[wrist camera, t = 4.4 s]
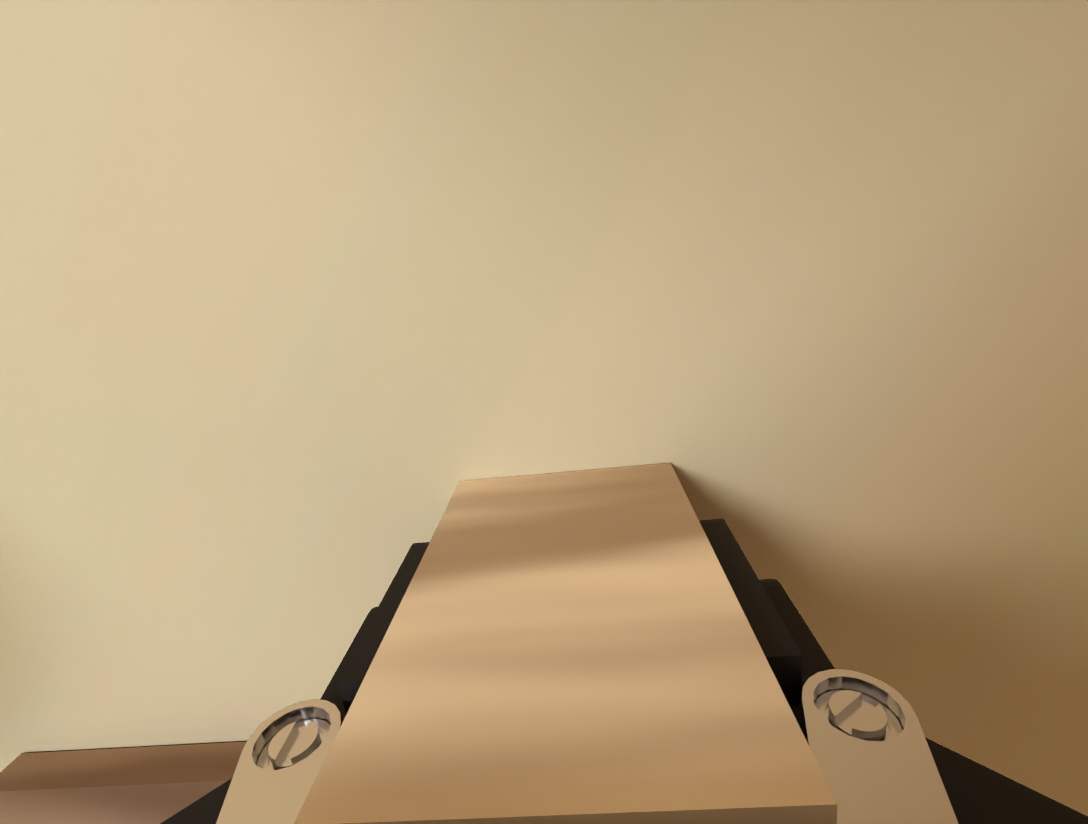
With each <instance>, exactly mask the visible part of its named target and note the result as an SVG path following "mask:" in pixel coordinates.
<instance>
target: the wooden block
mask: <svg viewBox="0 0 1088 824" xmlns="http://www.w3.org/2000/svg"><path fill="white" fill-rule="evenodd" d="M837 805H838V804H837V802H836V800H835V798H834V796H833V794H832V792H831V790H830V788H829V786H828V784H827V782H826V780H825V778H824V776H823V773H822V771H821V769H820V767H819V765H818V763H817V761H816V759H815V757H814V755H813V753H812V751H811V749H810V747H809V745H808V743H807V741H806V739H805V737H804V735H803V733H802V730H801V728H800V726H799V724H798V722H797V720H796V718H795V716H794V714H793V712H792V710H791V708H790V706H789V704H788V702H787V700H786V698H785V696H784V694H783V692H782V690H781V688H780V685H779V683H778V681H777V679H776V677H775V675H774V673H773V671H772V669H771V667H770V665H769V663H768V661H767V659H766V657H765V655H764V653H763V651H762V649H761V647H760V645H759V643H758V640H757V638H756V636H755V634H754V632H753V630H752V628H751V626H750V624H749V622H748V620H747V618H746V616H745V614H744V612H743V610H742V608H741V606H740V604H739V602H738V600H737V597H736V595H735V593H734V591H733V589H732V587H731V585H730V583H729V581H728V579H727V577H726V575H725V573H724V571H723V569H722V567H721V565H720V563H719V561H718V559H717V557H716V555H715V552H714V550H713V548H712V546H711V544H710V542H709V540H708V538H707V536H706V534H705V532H704V530H703V528H702V526H701V524H700V522H699V520H698V518H697V516H696V514H695V512H694V510H693V507H692V505H691V503H690V501H689V499H688V497H687V495H686V493H685V491H684V489H683V487H682V485H681V483H680V481H679V479H678V477H677V475H676V473H675V471H674V469H673V467H672V464H671V463H662V464H650V465H639V466H628V467H616V468H605V469H593V470H582V471H571V472H559V473H548V474H536V475H525V476H514V477H502V478H491V479H479V480H468V481H459V483H458V485H457V487H456V489H455V492H454V494H453V496H452V498H451V500H450V502H449V504H448V506H447V508H446V510H445V512H444V514H443V516H442V518H441V520H440V522H439V525H438V527H437V529H436V531H435V533H434V535H433V537H432V539H431V541H430V543H429V545H428V547H427V549H426V551H425V553H424V556H423V558H422V560H421V562H420V564H419V566H418V568H417V570H416V572H415V574H414V576H413V578H412V580H411V582H410V584H409V586H408V589H407V591H406V593H405V595H404V597H403V599H402V601H401V603H400V605H399V607H398V609H397V611H396V613H395V615H394V617H393V620H392V622H391V624H390V626H389V628H388V630H387V632H386V634H385V636H384V638H383V640H382V642H381V644H380V646H379V648H378V650H377V653H376V655H375V657H374V659H373V661H372V663H371V665H370V667H369V669H368V671H367V673H366V675H365V677H364V679H363V681H362V684H361V686H360V688H359V690H358V692H357V694H356V696H355V698H354V700H353V702H352V704H351V706H350V708H349V710H348V712H347V715H346V717H345V719H344V721H343V723H342V725H341V727H340V729H339V731H338V733H337V735H336V737H335V739H334V741H333V743H332V745H331V748H330V750H329V752H328V754H327V756H326V758H325V760H324V762H323V764H322V766H321V768H320V770H319V772H318V774H317V776H316V779H315V781H314V783H313V785H312V787H311V789H310V791H309V793H308V795H307V797H306V799H305V801H304V803H303V805H302V807H301V809H300V812H299V814H298V816H297V818H296V820H295V822H294V824H837Z"/></svg>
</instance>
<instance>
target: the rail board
mask: <svg viewBox="0 0 1088 824" xmlns="http://www.w3.org/2000/svg"><path fill="white" fill-rule="evenodd" d="M245 744H246V742H228V743H208V744H189V745H170V746H151V747H132V748H113V749H94V750H75V751H56V752H37V753H21V754H20V755H19V756H18V757H17V758H16V759H15V760H14V761H13V762H12V763H11V764H9V765H8V766H7V767H6V768H5V769H4V770H3V771H2V772H1V773H0V824H160V823H162V822H164V821H165V820H167V819H168V818H170V817H171V816H173V815H175V814H176V813H178V812H179V811H181V810H182V809H184V808H186V807H187V806H189V805H190V804H192V803H193V802H195V801H197V800H198V799H200V798H201V797H203V796H204V795H206V794H208V793H209V792H211V791H212V790H214V789H215V788H217V787H219V786H220V785H222V784H223V783H225V782H226V781H228V780H230V779H231V778H233V775H234V772H235V769H236V767H237V764H238V761H239V758H240V756H241V753H242V750H243V748H244V746H245Z"/></svg>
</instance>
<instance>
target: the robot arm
mask: <svg viewBox="0 0 1088 824" xmlns="http://www.w3.org/2000/svg"><path fill="white" fill-rule="evenodd" d="M699 522H700V524H701V526H702V528H703V530H704V532H705V534H706V536H707V538H708V540H709V542H710V544H711V546H712V548H713V550H714V552H715V555H716V557H717V559H718V561H719V563H720V565H721V567H722V569H723V571H724V573H725V575H726V577H727V579H728V581H729V583H730V585H731V587H732V589H733V591H734V593H735V595H736V597H737V600H738V602H739V604H740V606H741V608H742V610H743V612H744V614H745V616H746V618H747V620H748V622H749V624H750V626H751V628H752V630H753V632H754V634H755V636H756V638H757V640H758V643H759V645H760V647H761V649H762V651H763V653H764V655H765V657H766V659H767V661H768V663H769V665H770V667H771V669H772V671H773V673H774V675H775V677H776V679H777V681H778V683H779V685H780V688H781V690H782V692H783V694H784V696H785V698H786V700H787V702H788V704H789V706H790V708H791V710H792V712H793V714H794V716H795V718H796V720H797V722H798V724H799V726H800V728H801V730H802V733H803V735H804V737H805V739H806V741H807V743H808V745H809V747H810V749H811V751H812V753H813V755H814V757H815V759H816V761H817V763H818V765H819V767H820V769H821V771H822V773H823V776H824V778H825V780H826V782H827V784H828V786H829V788H830V790H831V792H832V794H833V796H834V798H835V800H836V802H837V804H838V805H837V824H1088V817H1087V816H1085V815H1083V814H1081V813H1079V812H1077V811H1075V810H1073V809H1071V808H1069V807H1067V806H1065V805H1063V804H1061V803H1059V802H1056V801H1054V800H1052V799H1050V798H1048V797H1046V796H1044V795H1042V794H1040V793H1038V792H1036V791H1034V790H1032V789H1030V788H1028V787H1026V786H1024V785H1022V784H1019V783H1017V782H1015V781H1013V780H1011V779H1009V778H1007V777H1005V776H1003V775H1001V774H999V773H997V772H995V771H993V770H991V769H989V768H987V767H985V766H982V765H980V764H978V763H976V762H974V761H972V760H970V759H968V758H966V757H964V756H962V755H960V754H958V753H956V752H954V751H952V750H950V749H948V748H945V747H943V746H941V745H939V744H937V743H935V742H933V741H931V740H929V739H927V738H925V736H924V733H923V730H922V728H921V725H920V723H919V720H918V717H917V715H916V713H915V712H914V710H913V708H912V707H911V705H910V703H909V702H908V701H907V700H906V699H905V698H904V697H903V696H902V695H901V694H900V693H899V692H898V691H897V690H895V689H894V688H892V687H891V686H889V685H888V684H886V683H884V682H883V681H881V680H879V679H877V678H874V677H872V676H869V675H867V674H865V673H860V672H856V671H852V670H845V669H834V667H833V665H832V664H831V662H830V661H829V659H828V658H827V656H826V655H825V653H824V651H823V650H822V648H821V647H820V645H819V644H818V642H817V640H816V639H815V637H814V636H813V634H812V633H811V631H810V630H809V628H808V626H807V625H806V623H805V622H804V620H803V619H802V617H801V615H800V614H799V612H798V611H797V609H796V608H795V606H794V605H793V603H792V601H791V600H790V598H789V597H788V595H787V594H786V592H785V590H784V589H783V587H782V586H781V584H780V583H779V582H778V581H777V580H775V579H764V580H759V579H758V578H757V576H756V574H755V572H754V571H753V569H752V567H751V566H750V564H749V562H748V560H747V559H746V557H745V555H744V554H743V552H742V550H741V548H740V547H739V545H738V543H737V541H736V540H735V538H734V536H733V535H732V533H731V531H730V529H729V528H728V526H727V524H726V523H725V521H724V520H723V519H714V520H701V521H699ZM429 543H430V542H426V543H414V544H413V545H412V546H411V548H410V550H409V551H408V553H407V555H406V557H405V559H404V561H403V563H402V564H401V566H400V568H399V570H398V572H397V574H396V575H395V577H394V579H393V581H392V583H391V585H390V587H389V588H388V590H387V592H386V594H385V596H384V598H383V599H382V601H381V603H380V605H379V607H375V608H373V609H372V610H371V611H370V612H369V613H368V615H367V617H366V619H365V621H364V622H363V624H362V626H361V628H360V630H359V631H358V633H357V635H356V637H355V638H354V640H353V642H352V644H351V646H350V647H349V649H348V651H347V653H346V655H345V656H344V658H343V660H342V662H341V664H340V665H339V667H338V669H337V671H336V672H335V674H334V676H333V678H332V680H331V681H330V683H329V685H328V687H327V689H326V690H325V692H324V694H323V696H322V697H321V699H320V700H319V699H312V700H306V701H301V702H298V703H295V704H292V705H290V706H287V707H285V708H283V709H282V710H280V711H278V712H276V713H275V714H273V715H272V716H270V717H269V718H268V719H267V720H265V721H264V722H263V723H262V724H261V725H259V727H258V728H257V729H256V730H255V731H254V732H253V734H252V735H251V736H250V737H249V739H248V741H247V742H246V744H245V746H244V748H243V750H242V753H241V756H240V758H239V761H238V764H237V767H236V769H235V772H234V775H233V778H231V779H230V780H228V781H226V782H225V783H223V784H222V785H220V786H219V787H217V788H215V789H214V790H212V791H211V792H209V793H208V794H206V795H204V796H203V797H201V798H200V799H198V800H197V801H195V802H193V803H192V804H190V805H189V806H187V807H186V808H184V809H182V810H181V811H179V812H178V813H176V814H175V815H173V816H171V817H170V818H168V819H167V820H165V821H164V822H162V823H160V824H294V822H295V820H296V818H297V816H298V814H299V812H300V809H301V807H302V805H303V803H304V801H305V799H306V797H307V795H308V793H309V791H310V789H311V787H312V785H313V783H314V781H315V779H316V776H317V774H318V772H319V770H320V768H321V766H322V764H323V762H324V760H325V758H326V756H327V754H328V752H329V750H330V748H331V745H332V743H333V741H334V739H335V737H336V735H337V733H338V731H339V729H340V727H341V725H342V723H343V721H344V719H345V717H346V715H347V712H348V710H349V708H350V706H351V704H352V702H353V700H354V698H355V696H356V694H357V692H358V690H359V688H360V686H361V684H362V681H363V679H364V677H365V675H366V673H367V671H368V669H369V667H370V665H371V663H372V661H373V659H374V657H375V655H376V653H377V650H378V648H379V646H380V644H381V642H382V640H383V638H384V636H385V634H386V632H387V630H388V628H389V626H390V624H391V622H392V620H393V617H394V615H395V613H396V611H397V609H398V607H399V605H400V603H401V601H402V599H403V597H404V595H405V593H406V591H407V589H408V586H409V584H410V582H411V580H412V578H413V576H414V574H415V572H416V570H417V568H418V566H419V564H420V562H421V560H422V558H423V556H424V553H425V551H426V549H427V547H428V545H429Z"/></svg>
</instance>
